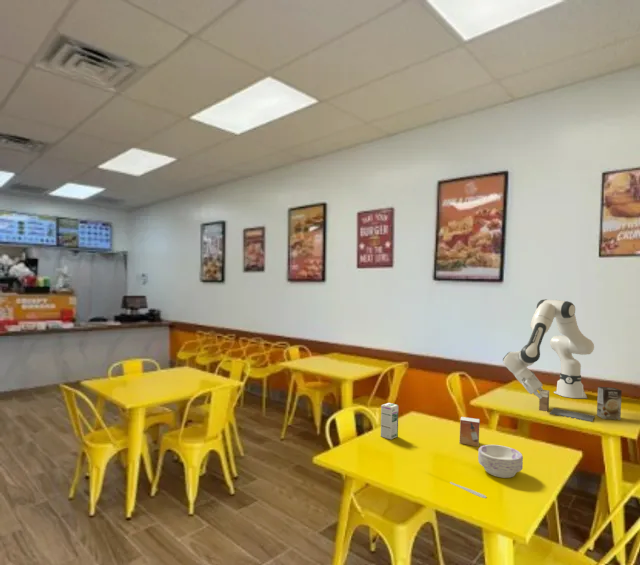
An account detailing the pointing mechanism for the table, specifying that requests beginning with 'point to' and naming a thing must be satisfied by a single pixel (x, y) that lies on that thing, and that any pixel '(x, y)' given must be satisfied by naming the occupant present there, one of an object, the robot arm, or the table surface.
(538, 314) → the robot arm
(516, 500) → the table surface
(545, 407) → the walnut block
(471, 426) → the small box
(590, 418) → the mat
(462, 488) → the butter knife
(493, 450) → the paper bowls
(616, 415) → the coffee box
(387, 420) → the syrup box
